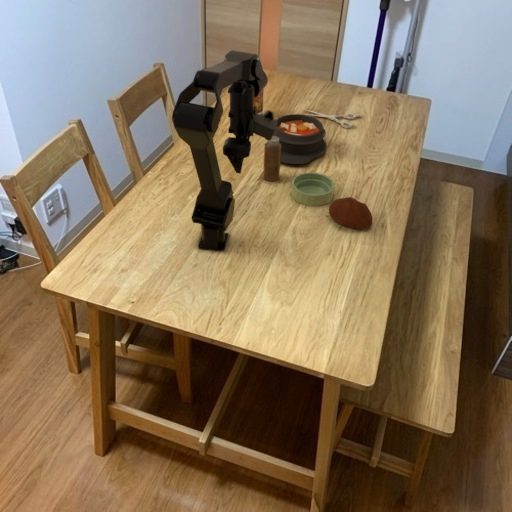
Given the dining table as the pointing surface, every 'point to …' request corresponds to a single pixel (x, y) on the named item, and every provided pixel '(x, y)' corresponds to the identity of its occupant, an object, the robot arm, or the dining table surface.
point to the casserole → (300, 138)
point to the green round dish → (312, 189)
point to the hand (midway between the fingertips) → (241, 163)
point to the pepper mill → (272, 160)
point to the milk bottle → (259, 102)
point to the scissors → (337, 117)
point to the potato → (351, 213)
